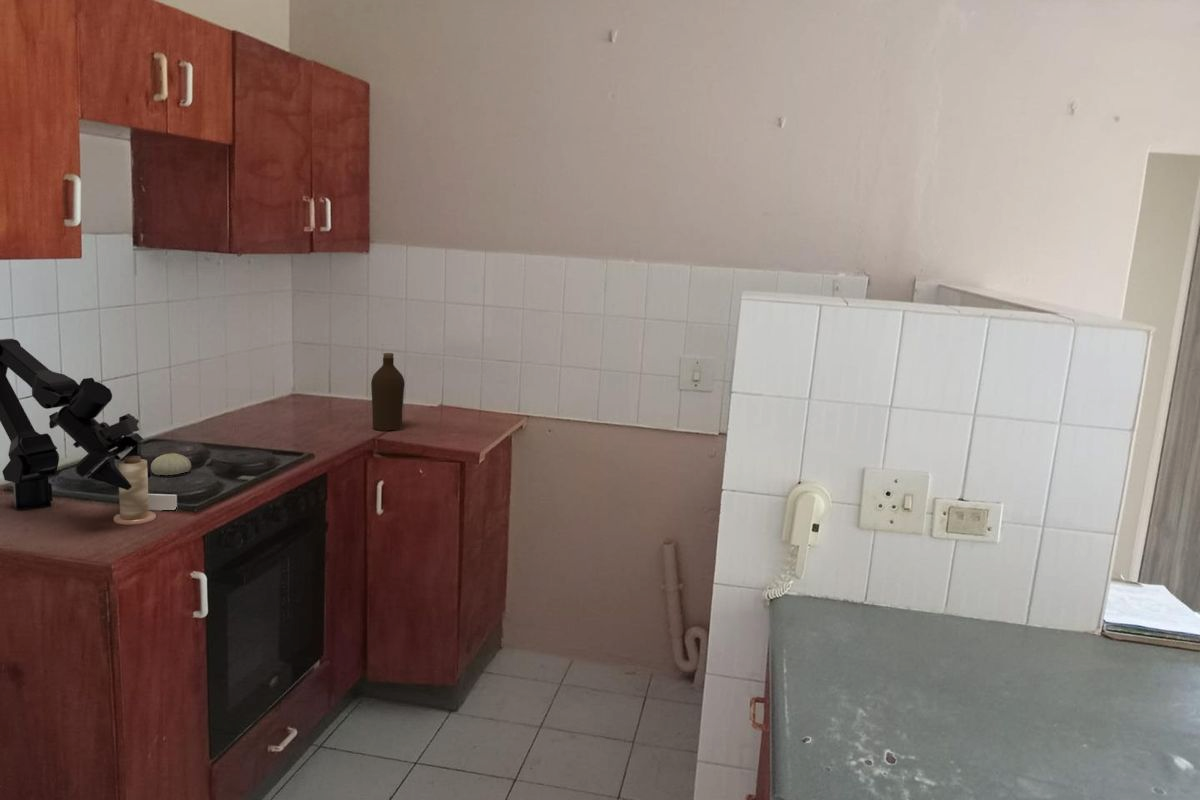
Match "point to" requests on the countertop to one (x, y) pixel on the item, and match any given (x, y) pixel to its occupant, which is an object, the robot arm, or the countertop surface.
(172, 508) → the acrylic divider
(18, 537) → the countertop surface
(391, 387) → the olive oil
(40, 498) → the robot arm
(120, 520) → the coaster
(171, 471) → the sea urchin shell
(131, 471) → the thread spool
